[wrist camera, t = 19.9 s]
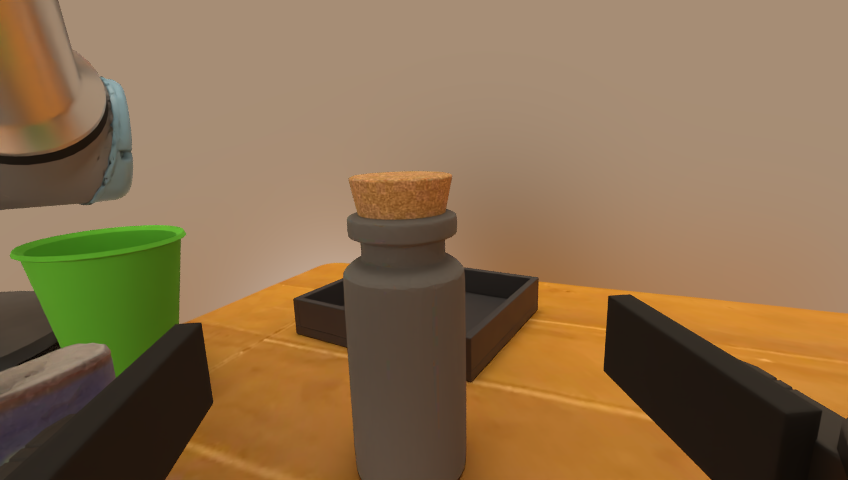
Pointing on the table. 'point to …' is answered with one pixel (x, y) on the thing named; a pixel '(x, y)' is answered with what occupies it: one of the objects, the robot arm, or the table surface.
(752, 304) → the table surface
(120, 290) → the cup
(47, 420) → the flask
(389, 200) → the bottle
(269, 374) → the table surface
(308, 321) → the baking tray
